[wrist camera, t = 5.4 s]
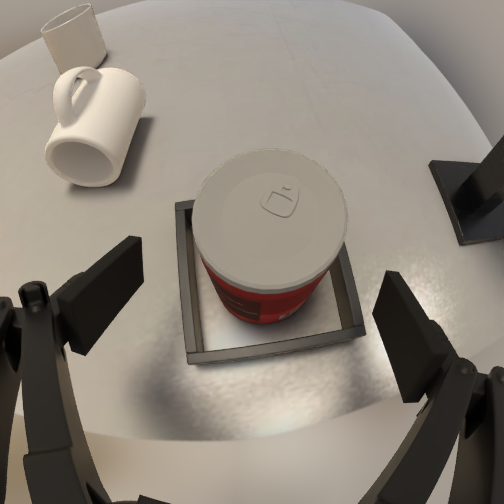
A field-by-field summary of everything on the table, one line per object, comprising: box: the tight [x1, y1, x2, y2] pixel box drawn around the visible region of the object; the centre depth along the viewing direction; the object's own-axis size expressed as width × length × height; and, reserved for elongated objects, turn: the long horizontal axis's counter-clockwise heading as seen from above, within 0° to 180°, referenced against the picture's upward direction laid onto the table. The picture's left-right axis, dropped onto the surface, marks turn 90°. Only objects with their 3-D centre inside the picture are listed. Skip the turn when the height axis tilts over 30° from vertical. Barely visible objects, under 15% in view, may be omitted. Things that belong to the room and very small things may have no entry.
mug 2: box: [45, 67, 146, 187], centre depth 24 cm, size 8×10×12 cm
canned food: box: [192, 149, 348, 324], centre depth 19 cm, size 8×8×11 cm
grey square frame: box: [175, 200, 366, 365], centre depth 23 cm, size 13×13×3 cm
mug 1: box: [41, 4, 107, 75], centre depth 33 cm, size 12×9×11 cm
